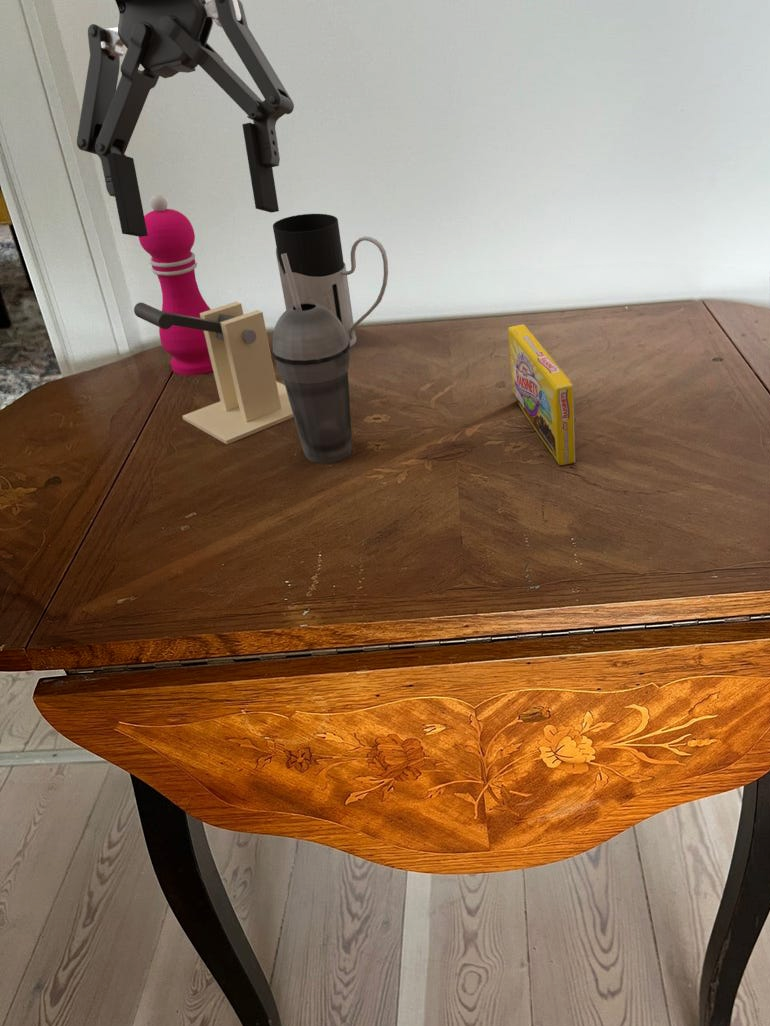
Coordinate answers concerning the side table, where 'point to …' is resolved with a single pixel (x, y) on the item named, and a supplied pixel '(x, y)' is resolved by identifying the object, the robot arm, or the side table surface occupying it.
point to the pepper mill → (177, 285)
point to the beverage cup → (315, 376)
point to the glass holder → (320, 265)
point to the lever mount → (241, 378)
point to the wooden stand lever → (179, 319)
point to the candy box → (543, 393)
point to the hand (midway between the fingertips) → (199, 223)
